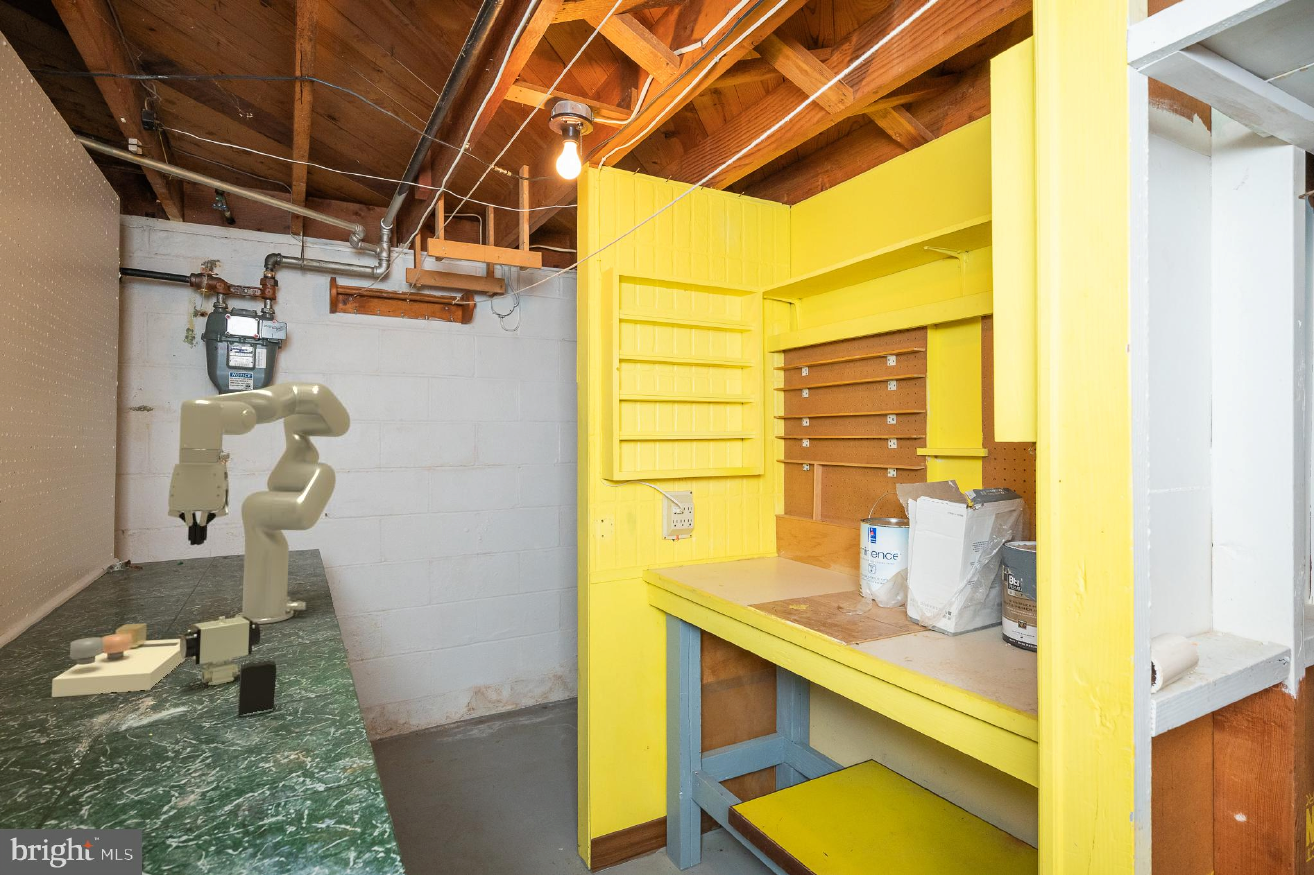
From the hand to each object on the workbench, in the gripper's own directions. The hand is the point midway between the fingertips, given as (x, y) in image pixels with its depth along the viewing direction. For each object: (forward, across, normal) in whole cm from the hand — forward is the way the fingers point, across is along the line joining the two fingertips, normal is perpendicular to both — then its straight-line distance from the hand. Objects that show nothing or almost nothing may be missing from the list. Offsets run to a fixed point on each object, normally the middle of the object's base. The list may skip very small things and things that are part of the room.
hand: (197, 544), depth 141 cm
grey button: (+18, +10, +21) cm, 29 cm away
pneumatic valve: (+22, -11, +23) cm, 34 cm away
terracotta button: (+19, +8, +15) cm, 25 cm away
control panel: (+22, +6, +14) cm, 27 cm away
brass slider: (+19, +8, +7) cm, 22 cm away
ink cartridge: (+22, -21, +40) cm, 50 cm away
